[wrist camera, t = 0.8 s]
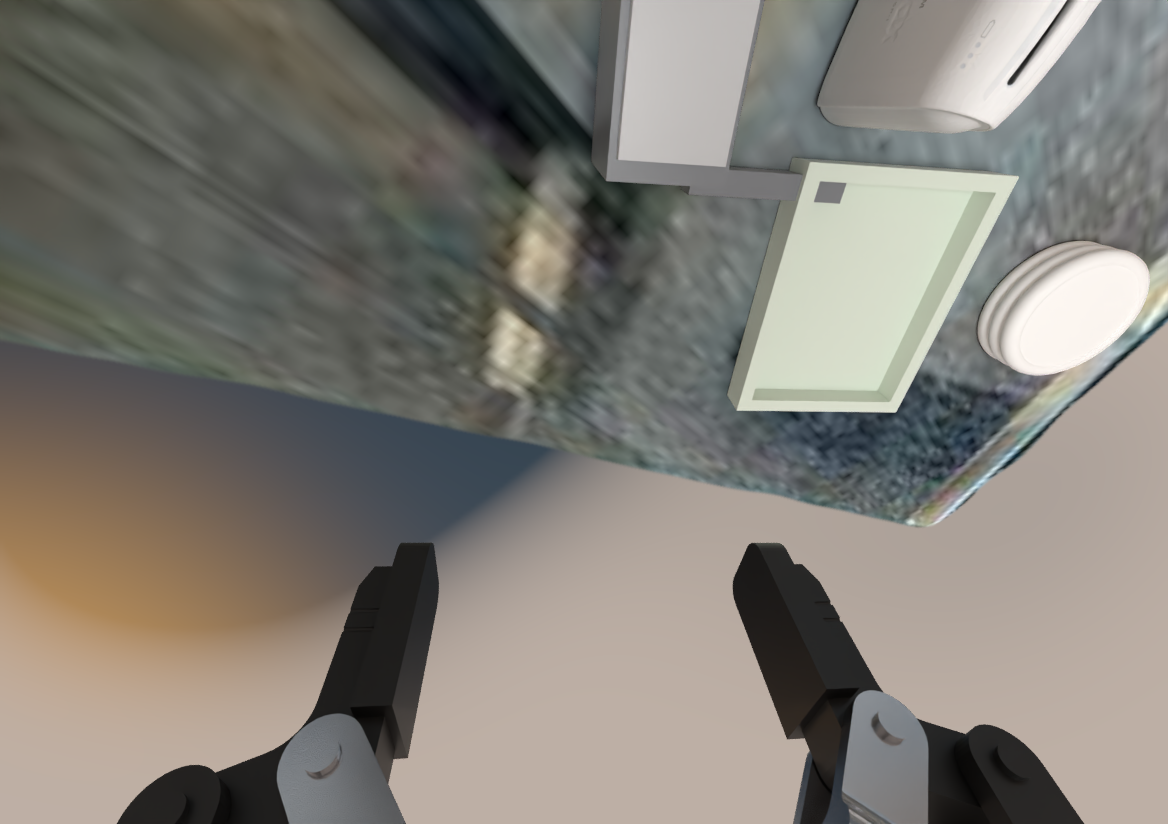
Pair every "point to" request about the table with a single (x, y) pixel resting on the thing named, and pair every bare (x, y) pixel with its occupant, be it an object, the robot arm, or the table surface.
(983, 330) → the white round puck
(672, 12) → the dock
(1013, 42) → the photo printer
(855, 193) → the tray
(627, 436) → the table surface
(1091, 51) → the table surface
